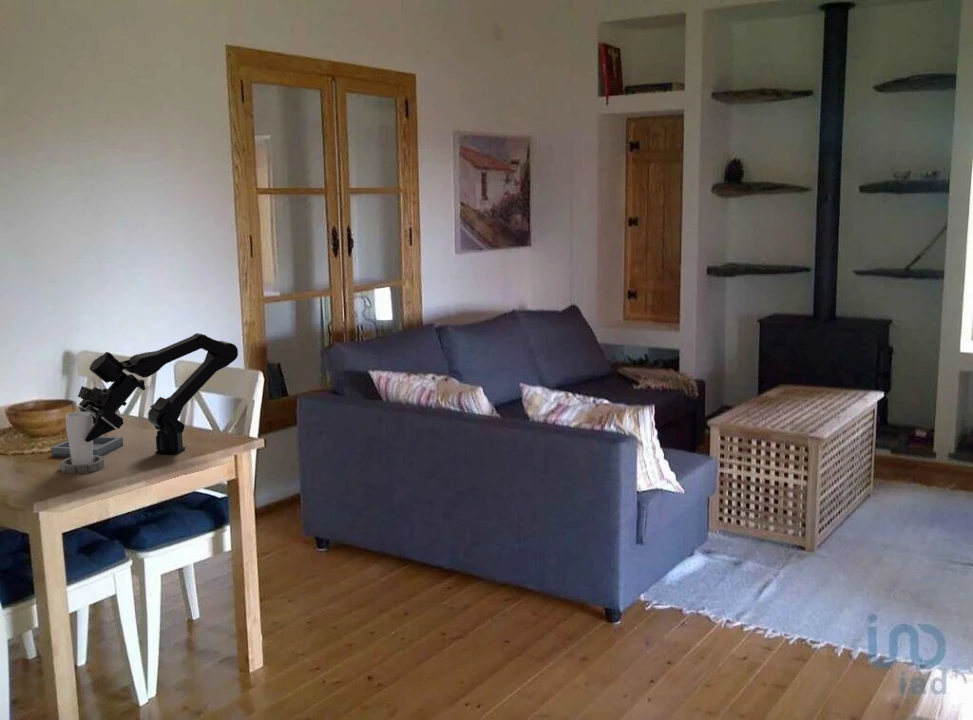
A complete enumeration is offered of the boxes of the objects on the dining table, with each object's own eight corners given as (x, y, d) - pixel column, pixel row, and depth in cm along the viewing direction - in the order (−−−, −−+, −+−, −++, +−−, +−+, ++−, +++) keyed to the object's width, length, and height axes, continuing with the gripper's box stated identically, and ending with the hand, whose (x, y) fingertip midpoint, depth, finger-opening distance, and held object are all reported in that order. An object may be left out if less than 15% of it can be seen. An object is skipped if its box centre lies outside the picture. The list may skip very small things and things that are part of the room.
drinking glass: (63, 469, 257) (59, 415, 255) (84, 462, 263) (80, 410, 261) (80, 472, 254) (76, 418, 252) (101, 466, 260) (97, 413, 257)
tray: (123, 445, 281) (122, 437, 281) (97, 458, 268) (96, 449, 267) (79, 443, 283) (79, 435, 283) (51, 456, 270) (51, 447, 269)
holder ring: (112, 462, 263) (111, 455, 263) (90, 474, 253) (89, 467, 252) (75, 461, 265) (75, 454, 265) (52, 472, 254) (51, 465, 254)
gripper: (84, 370, 265) (45, 414, 259) (108, 380, 251) (68, 427, 246) (114, 394, 271) (77, 437, 266) (139, 405, 257) (101, 451, 252)
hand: (80, 437), depth 257 cm, fingers open, 9 cm apart
